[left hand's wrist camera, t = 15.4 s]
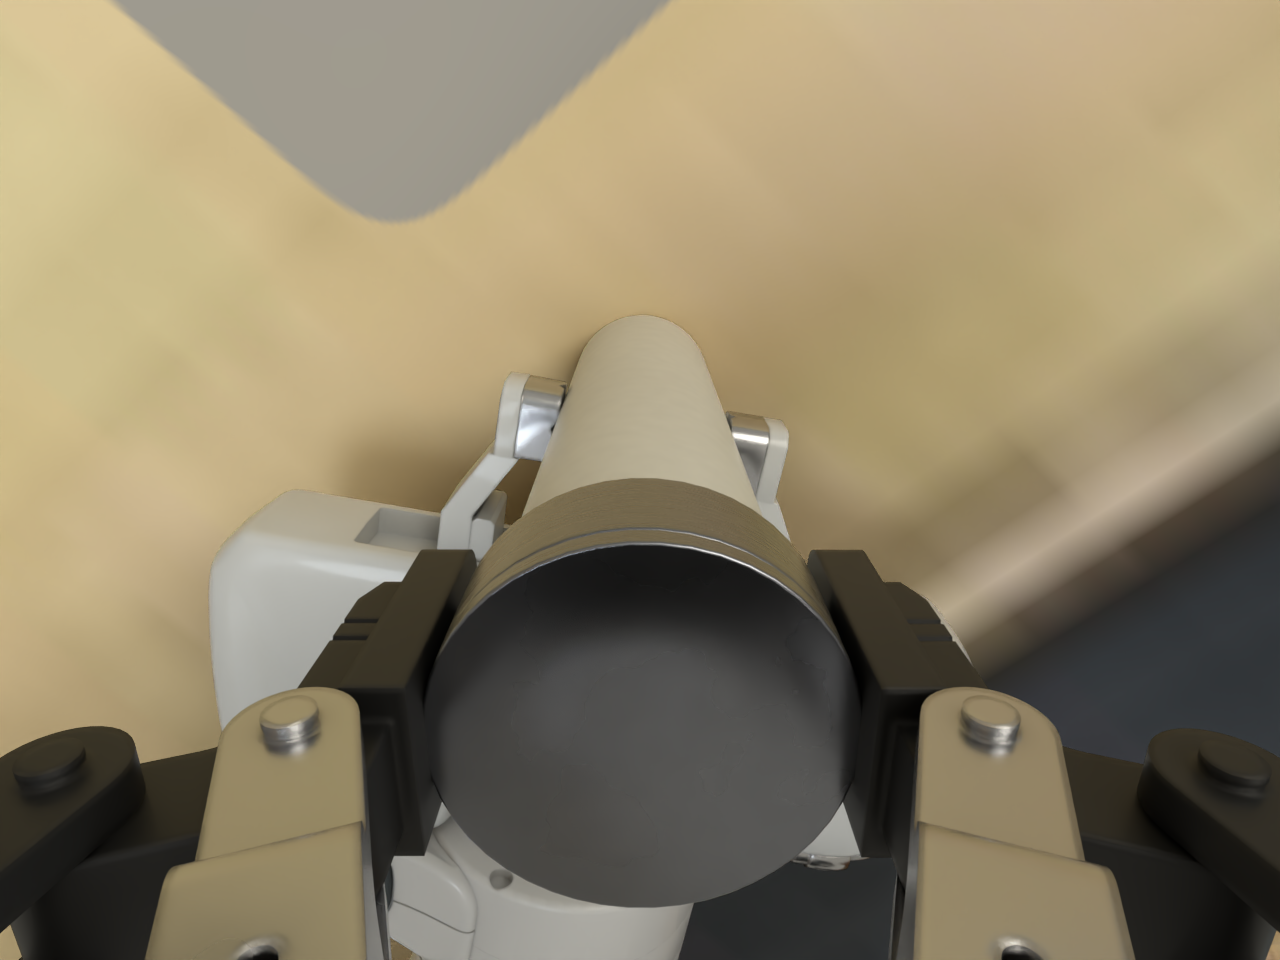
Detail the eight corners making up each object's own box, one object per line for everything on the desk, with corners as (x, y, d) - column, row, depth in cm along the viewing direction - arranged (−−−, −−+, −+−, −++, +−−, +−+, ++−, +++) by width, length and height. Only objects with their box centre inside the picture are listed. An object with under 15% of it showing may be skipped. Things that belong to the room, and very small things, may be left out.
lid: (771, 819, 12) (797, 937, 10) (438, 764, 11) (399, 874, 10) (873, 516, 10) (925, 590, 8) (485, 441, 10) (448, 500, 8)
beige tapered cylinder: (684, 457, 27) (755, 889, 10) (561, 423, 26) (429, 816, 10) (724, 335, 25) (880, 609, 9) (595, 298, 25) (505, 509, 8)
